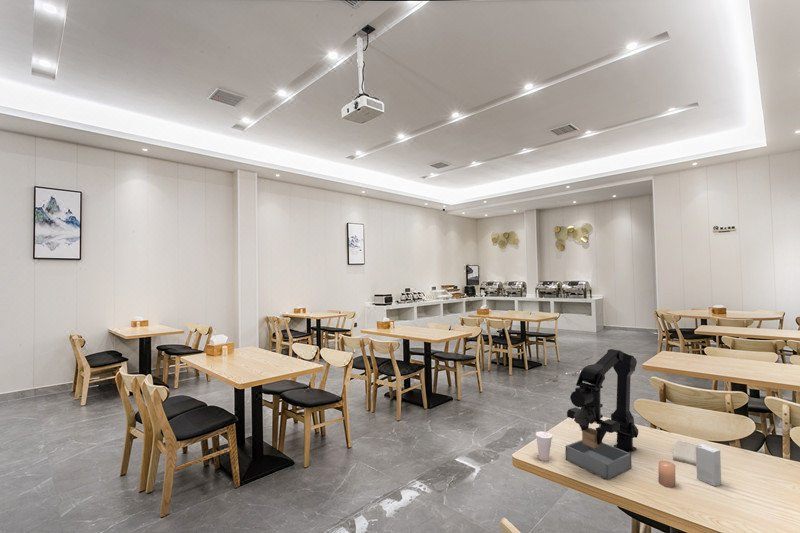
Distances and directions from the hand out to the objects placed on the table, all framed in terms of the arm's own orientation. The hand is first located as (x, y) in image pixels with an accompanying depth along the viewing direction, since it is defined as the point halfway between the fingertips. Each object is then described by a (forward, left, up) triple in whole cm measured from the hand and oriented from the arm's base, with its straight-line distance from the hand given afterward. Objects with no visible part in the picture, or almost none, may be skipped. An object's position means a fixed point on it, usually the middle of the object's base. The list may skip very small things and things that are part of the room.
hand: (592, 441), depth 155 cm
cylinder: (-11, +21, -10) cm, 26 cm away
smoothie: (+11, -14, -10) cm, 20 cm away
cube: (0, 0, -1) cm, 1 cm away
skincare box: (-25, +28, -10) cm, 39 cm away
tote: (-3, 0, -10) cm, 10 cm away
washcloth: (-41, +16, -10) cm, 46 cm away
